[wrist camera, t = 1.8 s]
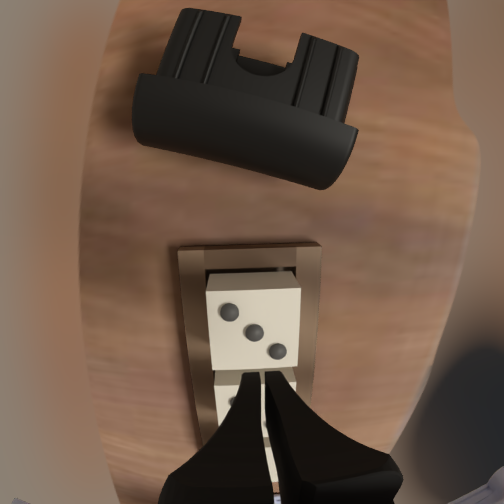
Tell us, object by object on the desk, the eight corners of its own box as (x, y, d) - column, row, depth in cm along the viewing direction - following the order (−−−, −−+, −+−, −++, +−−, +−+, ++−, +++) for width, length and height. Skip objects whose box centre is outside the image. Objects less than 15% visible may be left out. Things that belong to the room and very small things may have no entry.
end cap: (155, 149, 19) (117, 138, 12) (186, 49, 17) (167, -1, 10) (308, 188, 20) (343, 195, 13) (335, 87, 18) (377, 54, 12)
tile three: (289, 341, 21) (297, 368, 18) (215, 344, 21) (212, 372, 17) (291, 271, 20) (301, 289, 16) (209, 273, 19) (205, 292, 16)
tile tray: (300, 454, 25) (302, 462, 24) (207, 458, 25) (207, 467, 24) (317, 242, 20) (321, 246, 19) (180, 246, 20) (177, 251, 19)
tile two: (286, 408, 22) (292, 437, 19) (221, 411, 22) (220, 440, 19) (289, 356, 21) (296, 383, 18) (216, 359, 21) (213, 387, 18)
